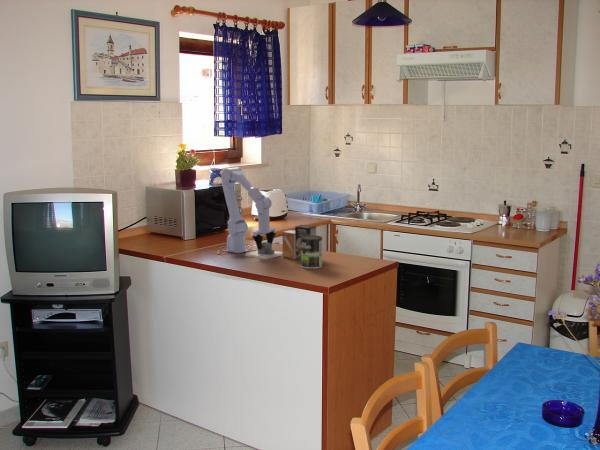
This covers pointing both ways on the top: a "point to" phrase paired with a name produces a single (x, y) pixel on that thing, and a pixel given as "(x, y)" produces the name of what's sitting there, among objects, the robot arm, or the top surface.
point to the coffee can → (311, 252)
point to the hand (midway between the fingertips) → (264, 247)
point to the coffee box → (302, 231)
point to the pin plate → (263, 255)
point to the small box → (289, 244)
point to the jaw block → (266, 249)
